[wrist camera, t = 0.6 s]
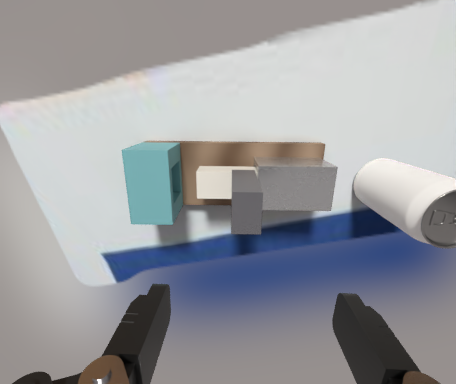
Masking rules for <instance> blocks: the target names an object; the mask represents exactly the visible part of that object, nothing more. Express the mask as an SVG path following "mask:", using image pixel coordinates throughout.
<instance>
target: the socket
mask: <svg viewBox="0 0 456 384" xmlns="http://www.w3.org/2000/svg"><path fill="white" fill-rule="evenodd" d="M122 156H123V164H124V172H125V180H126V187H127V195H128V203H129V211H130V219H131V224H153V225H173V223H174V221H175V219H176V217H177V216H178V214H179V212H180V210H181V208H182V206H183V192H182V173H181V154H180V143H154V142H142V143H140V144H137V145H134V146H131V147H129V148H126V149H123V150H122Z"/></svg>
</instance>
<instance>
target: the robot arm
mask: <svg viewBox="0 0 456 384" xmlns="http://www.w3.org/2000/svg"><path fill="white" fill-rule="evenodd" d="M170 313H171V307H170V288H169V285H168V284H152V286H151V288H150V290H149V292H148V294H147V295H139V296H138V297H137V298H136V299H135V300H134V301H133V302H131V304H130V306H129V307H128V309H127V311H126V314H125V315H124V316H123V318H122V320H121V323H120V324H119V326H118V328H117V329H116V331H115V333H114V335H113V337H112V338H111V340H110V342H109V344H108V346H107V348H106V349H105V351H104V353H103V355H102V356H101V357H100V358H98V359H96V360H94V361H93V362H91V363H90V364H89V365H88V366H87V367H86V368H85V369H84V370H83V372H82V373H79V374H77V375H73V376H69V377H66V378H62V379H58V380H54V381H52V380H51V377H50V376H49V374H47V373H45V372H34V373H30V374H28V375H25V376H23V377H22V378H20V379H18V380H17V381H15V382H14V383H12V384H150V382H151V379H152V376H153V373H154V370H155V366H156V363H157V360H158V357H159V354H160V351H161V347H162V344H163V341H164V338H165V335H166V331H167V328H168V325H169V321H170ZM333 330H334V333H335V335H336V337H337V340H338V342H339V344H340V346H341V349H342V351H343V353H344V356H345V358H346V360H347V362H348V364H349V367H350V369H351V371H352V373H353V376H354V378H355V380H356V383H357V384H440V383H439V382H438V381H436V380H435V379H433V378H432V377H430V376H428V375H426V374H424V373H421V372H420V370H419V369H418V367H417V366H416V364H415V363H414V362H413V360H412V359H411V357H410V356H409V355H408V353H407V352H406V350H405V349H404V348H403V346H402V345H401V343H400V342H399V340H398V339H397V338H396V337H395V335H394V333H393V332H392V331H391V329H390V328H388V325H387V324H386V322H385V321H384V319H383V318H382V316H381V315H380V314H378V313H377V312H376V311H375V310H374V309H372V308H371V307H370V306H365V305H364V303H363V302H362V300H361V299H360V297H359V296H358V295H357V294H348V293H339V294H338V296H337V301H336V305H335V310H334V315H333Z"/></svg>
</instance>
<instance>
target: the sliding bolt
mask: <svg viewBox="0 0 456 384" xmlns="http://www.w3.org/2000/svg"><path fill="white" fill-rule="evenodd" d="M257 174H258V170H257V168H256V167H245V166H199V168H198V170H197V171H196V183H197V199H231V234H261V224H262V206H263V190H262V188H261V185H260V183H259V180H258V178H257Z"/></svg>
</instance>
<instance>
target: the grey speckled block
mask: <svg viewBox="0 0 456 384" xmlns="http://www.w3.org/2000/svg"><path fill="white" fill-rule="evenodd" d="M253 167H256V168H257V170H258V174H257V178H258V180H259V183H260V185H261V188H262V190H263V206H262V210H296V211H331V207H332V200H333V194H334V187H335V181H336V174H337V168H338V167H336V166H335V165H333V164H331V163H329V162H327V161H325V160H323V159H321V158H319V157H254V166H253Z"/></svg>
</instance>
